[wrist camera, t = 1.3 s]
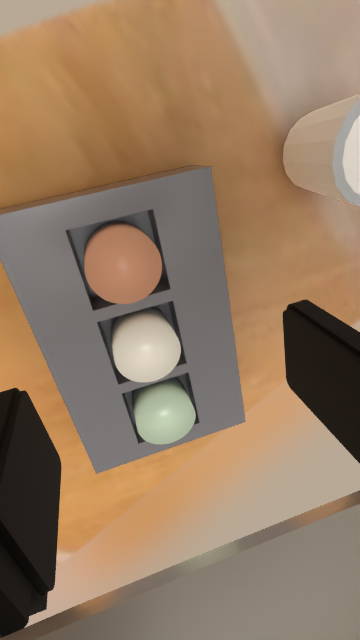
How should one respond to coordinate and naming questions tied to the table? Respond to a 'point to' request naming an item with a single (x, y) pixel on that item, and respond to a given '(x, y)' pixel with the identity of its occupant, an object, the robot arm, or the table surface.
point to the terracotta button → (121, 263)
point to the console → (100, 315)
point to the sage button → (163, 411)
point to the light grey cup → (327, 151)
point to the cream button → (144, 345)
